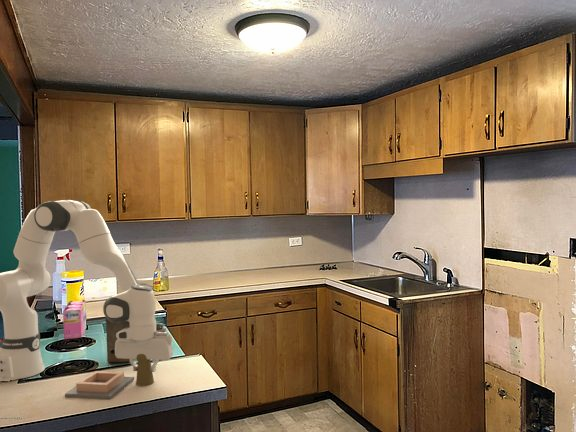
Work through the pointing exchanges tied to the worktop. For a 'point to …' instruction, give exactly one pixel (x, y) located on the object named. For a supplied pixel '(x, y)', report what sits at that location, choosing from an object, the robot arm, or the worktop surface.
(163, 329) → the lighter
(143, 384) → the olive peg figure
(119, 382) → the socket block
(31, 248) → the robot arm
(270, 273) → the worktop surface
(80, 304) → the gum box
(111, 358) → the vintage camera
